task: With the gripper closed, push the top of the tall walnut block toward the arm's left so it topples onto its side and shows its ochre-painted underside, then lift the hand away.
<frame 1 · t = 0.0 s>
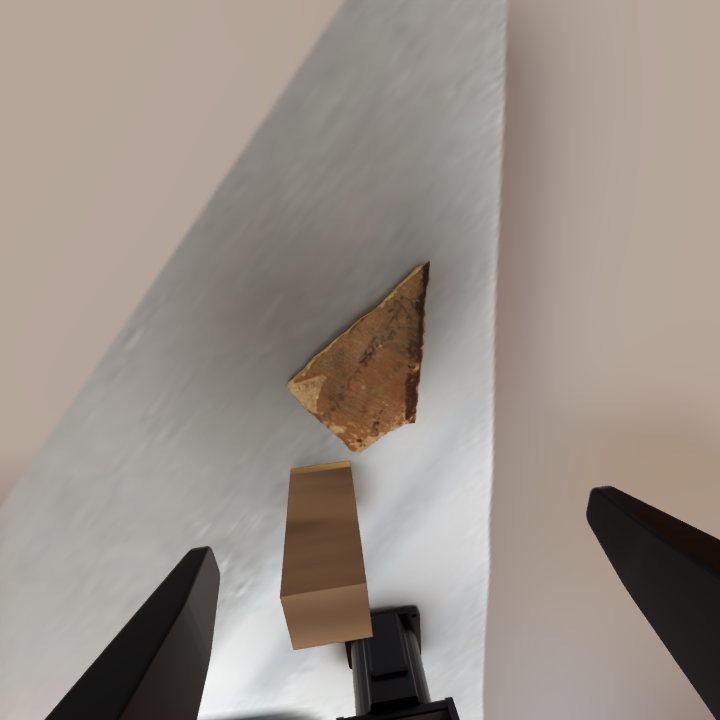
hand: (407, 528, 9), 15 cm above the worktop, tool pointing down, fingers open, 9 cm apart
shard: (353, 355, 24), on the worktop
walnut block: (324, 487, 27), on the worktop
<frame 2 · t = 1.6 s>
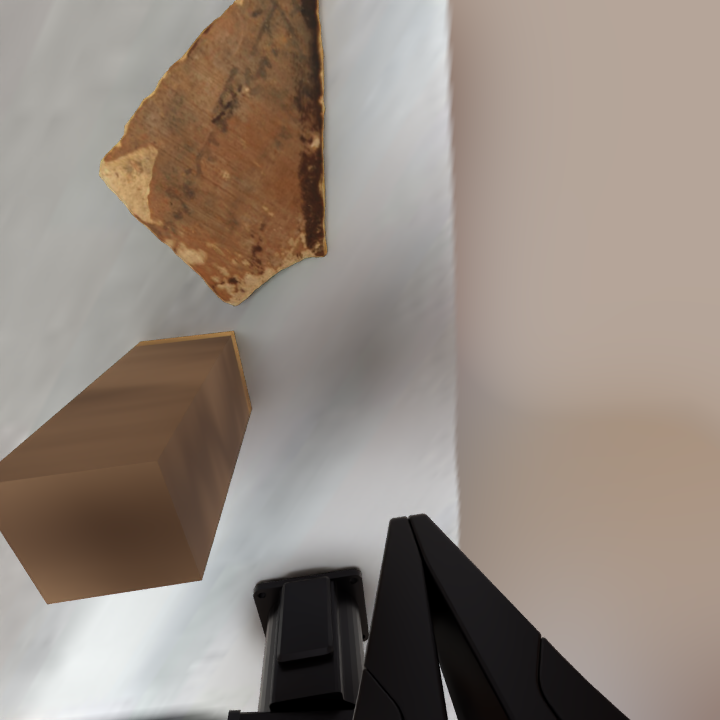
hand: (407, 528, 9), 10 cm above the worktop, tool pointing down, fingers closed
shard: (220, 139, 15), on the worktop
walnut block: (199, 377, 18), on the worktop
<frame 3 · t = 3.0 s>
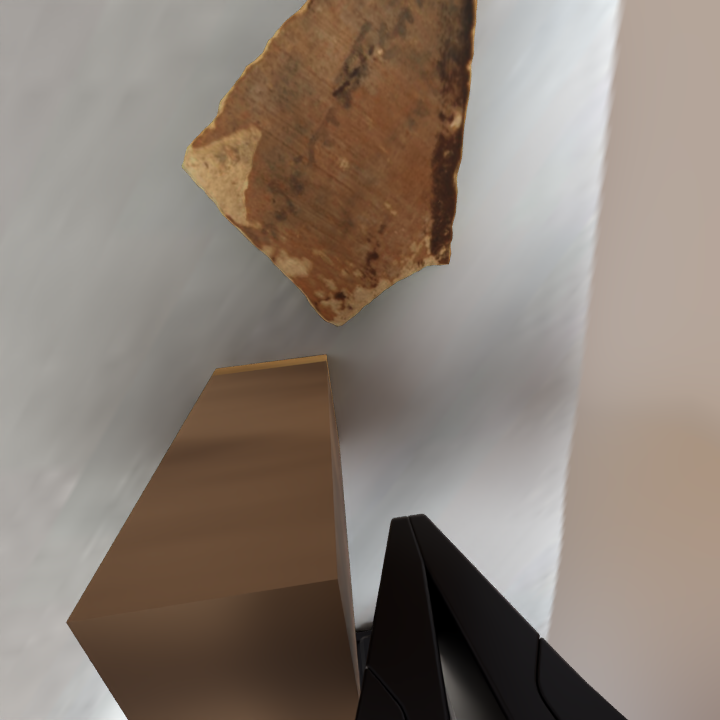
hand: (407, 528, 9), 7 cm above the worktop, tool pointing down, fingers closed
shard: (324, 120, 12), on the worktop
walnut block: (281, 408, 15), on the worktop, touching gripper
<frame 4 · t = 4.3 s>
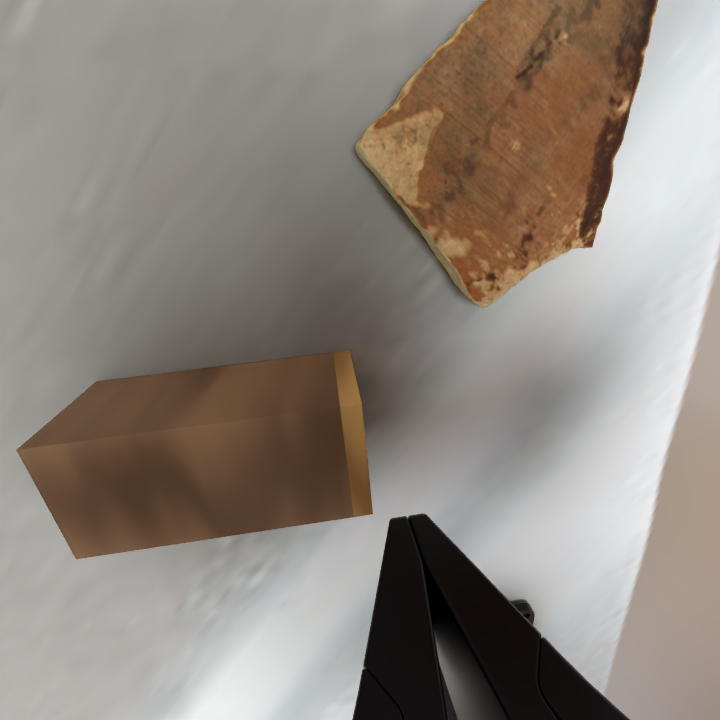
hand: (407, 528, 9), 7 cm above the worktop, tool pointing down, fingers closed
shard: (480, 105, 12), on the worktop
walnut block: (360, 425, 13), point 2 cm above the worktop, tilted 90°
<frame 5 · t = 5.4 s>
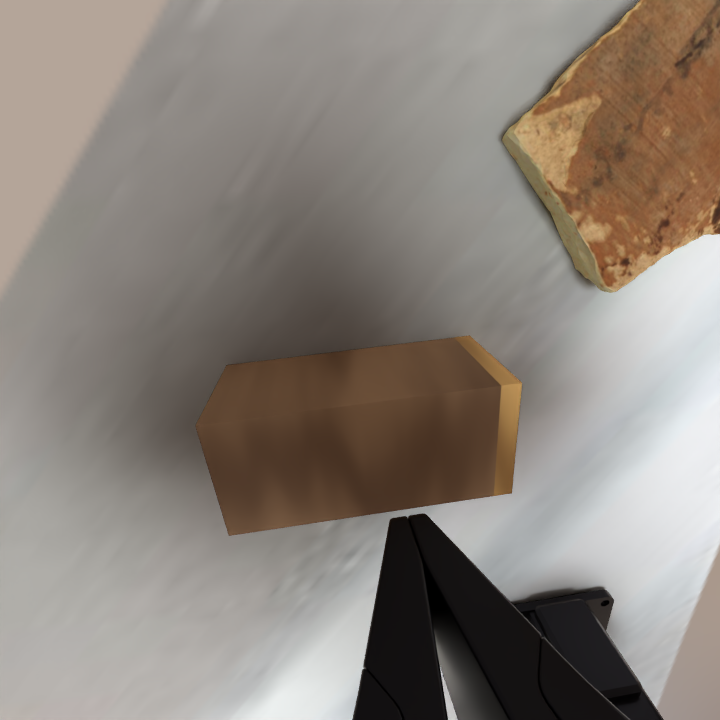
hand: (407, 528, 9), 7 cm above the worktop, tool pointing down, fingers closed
shard: (617, 94, 12), on the worktop
walnut block: (489, 408, 13), point 2 cm above the worktop, tilted 90°
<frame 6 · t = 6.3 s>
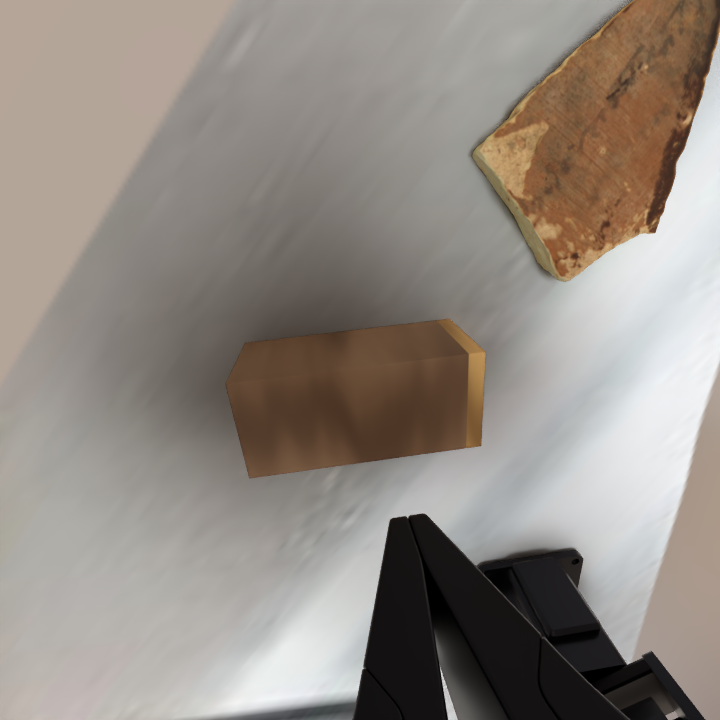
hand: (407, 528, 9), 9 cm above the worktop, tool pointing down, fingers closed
shard: (567, 119, 15), on the worktop
walnut block: (464, 378, 16), point 2 cm above the worktop, tilted 90°
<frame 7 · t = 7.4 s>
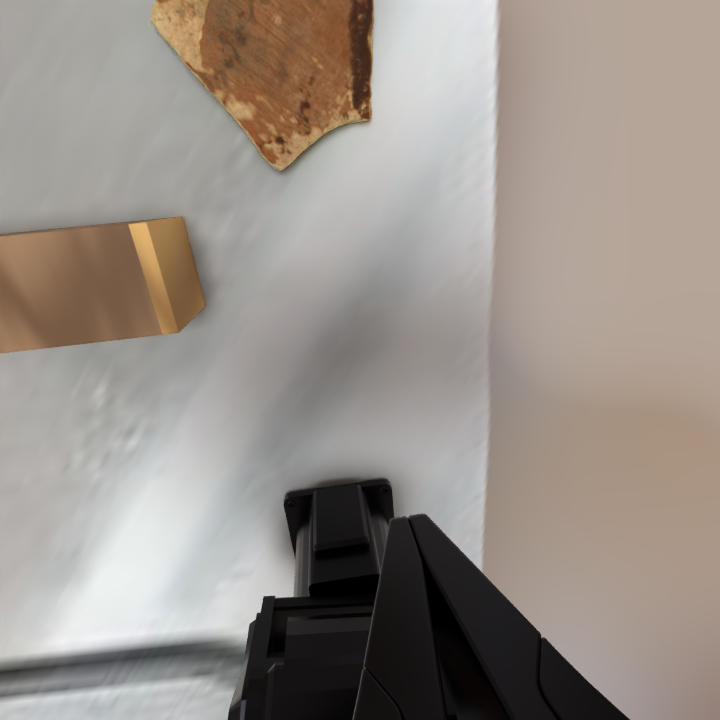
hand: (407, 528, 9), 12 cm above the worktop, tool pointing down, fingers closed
walnut block: (181, 270, 16), point 2 cm above the worktop, tilted 90°
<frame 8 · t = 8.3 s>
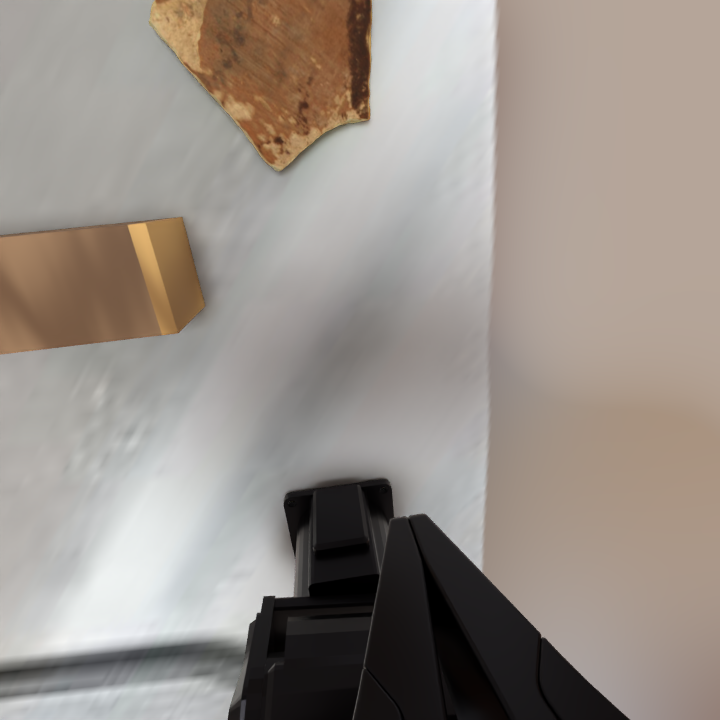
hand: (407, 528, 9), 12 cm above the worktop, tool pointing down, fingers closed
walnut block: (180, 271, 16), point 2 cm above the worktop, tilted 90°
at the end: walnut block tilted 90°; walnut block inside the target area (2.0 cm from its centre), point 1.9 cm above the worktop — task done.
